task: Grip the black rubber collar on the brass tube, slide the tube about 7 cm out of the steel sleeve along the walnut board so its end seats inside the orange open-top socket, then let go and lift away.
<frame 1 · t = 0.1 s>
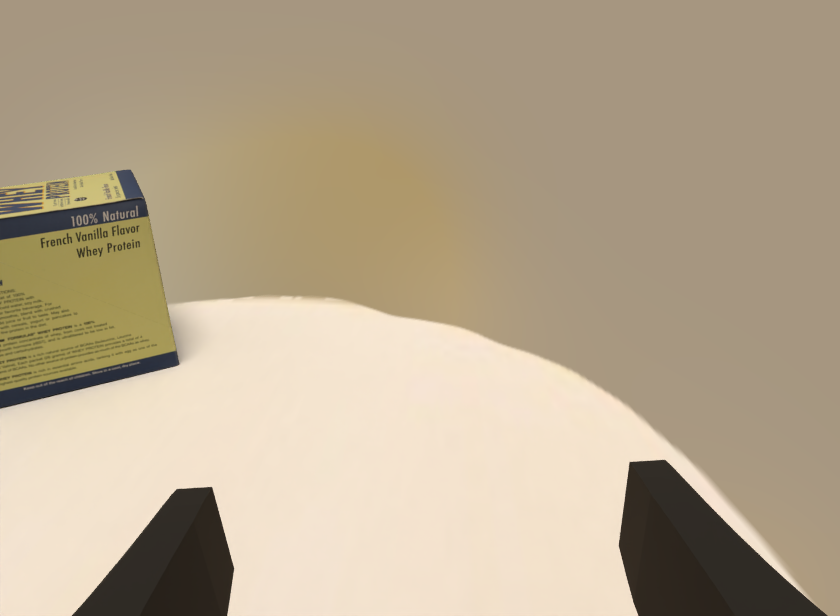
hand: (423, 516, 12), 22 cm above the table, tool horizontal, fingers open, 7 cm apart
protein box: (86, 363, 63), on the table
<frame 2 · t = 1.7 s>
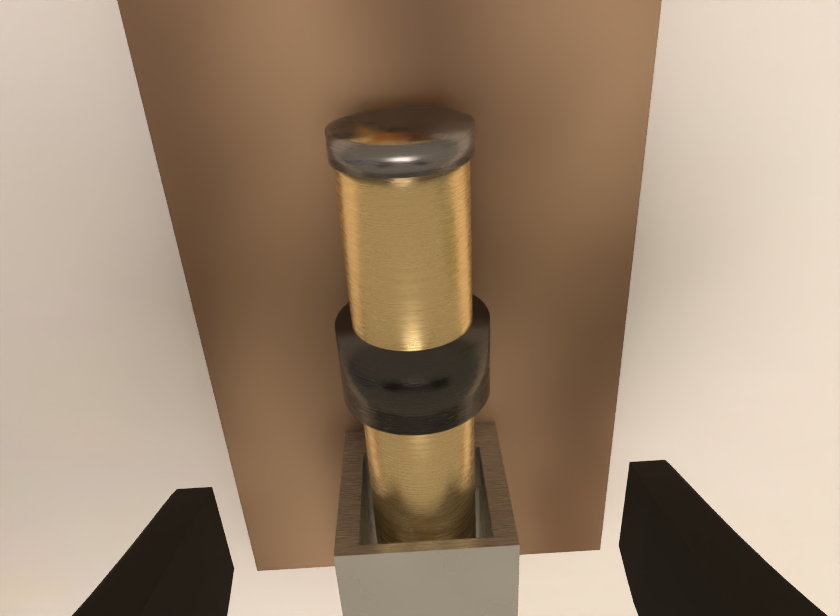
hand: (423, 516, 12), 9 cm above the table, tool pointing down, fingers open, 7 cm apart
base board: (404, 180, 18), on the table
outer sleeve: (424, 497, 23), resting on base board
inner tube: (419, 434, 18), point 4 cm above the table, slide at 0.0 cm
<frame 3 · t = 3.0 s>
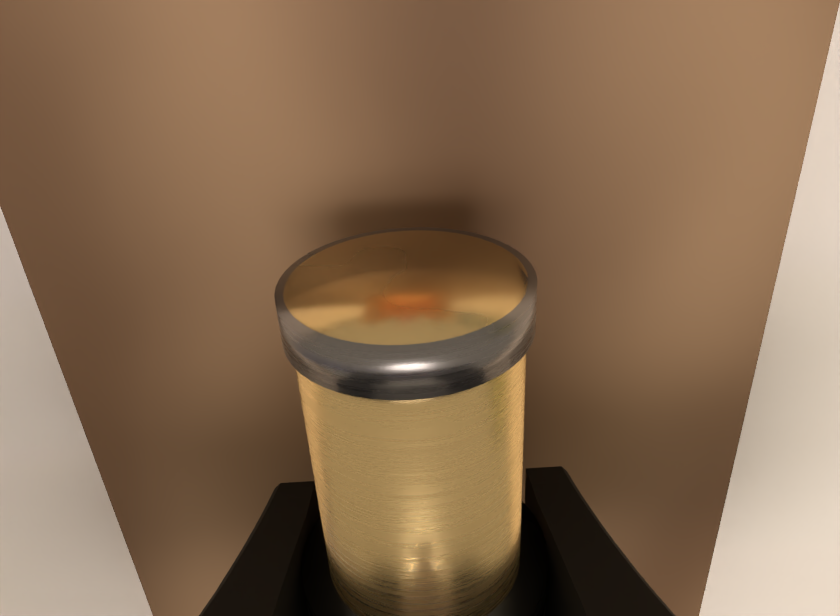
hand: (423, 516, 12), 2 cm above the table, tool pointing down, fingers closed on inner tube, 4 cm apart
base board: (411, 305, 13), on the table
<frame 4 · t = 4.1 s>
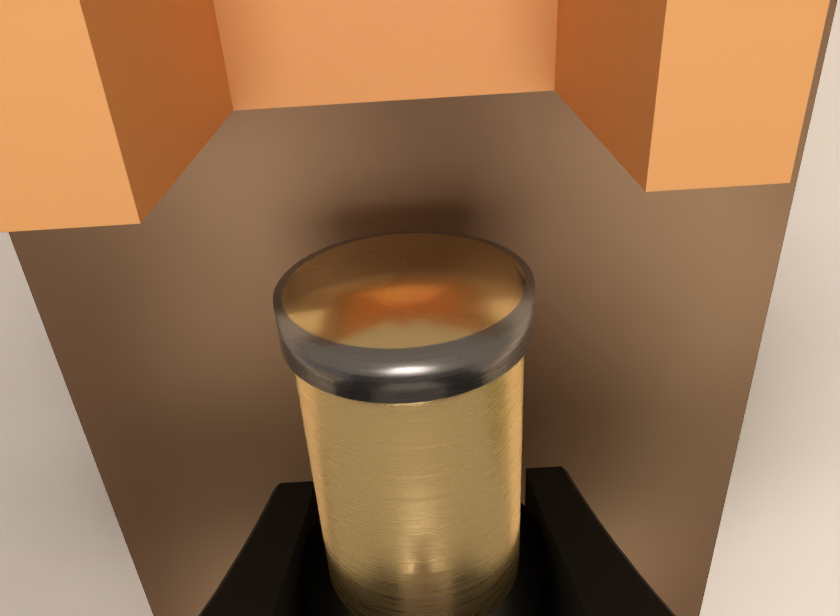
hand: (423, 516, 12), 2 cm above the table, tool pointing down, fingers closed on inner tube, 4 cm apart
base board: (419, 432, 14), on the table
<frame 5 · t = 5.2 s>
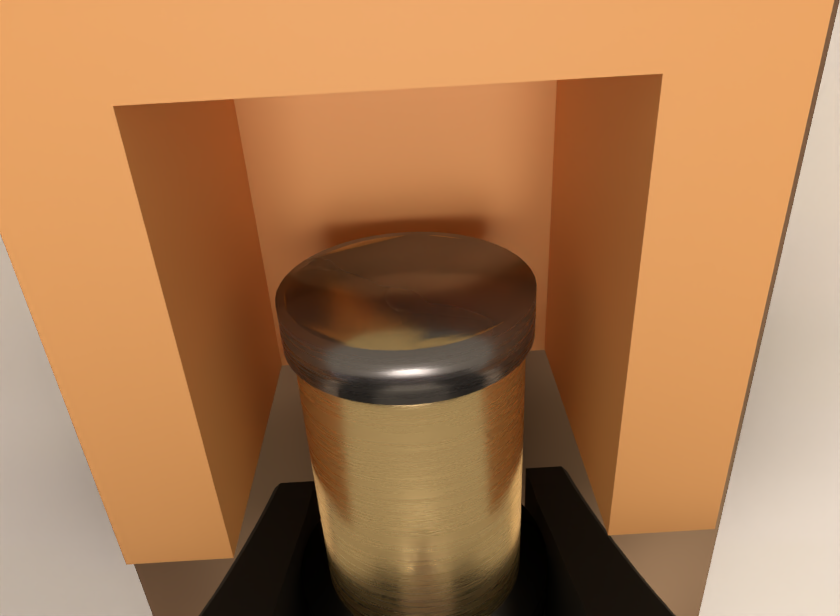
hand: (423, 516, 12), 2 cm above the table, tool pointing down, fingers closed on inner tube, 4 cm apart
base board: (428, 568, 16), on the table
socket block: (400, 141, 11), resting on base board
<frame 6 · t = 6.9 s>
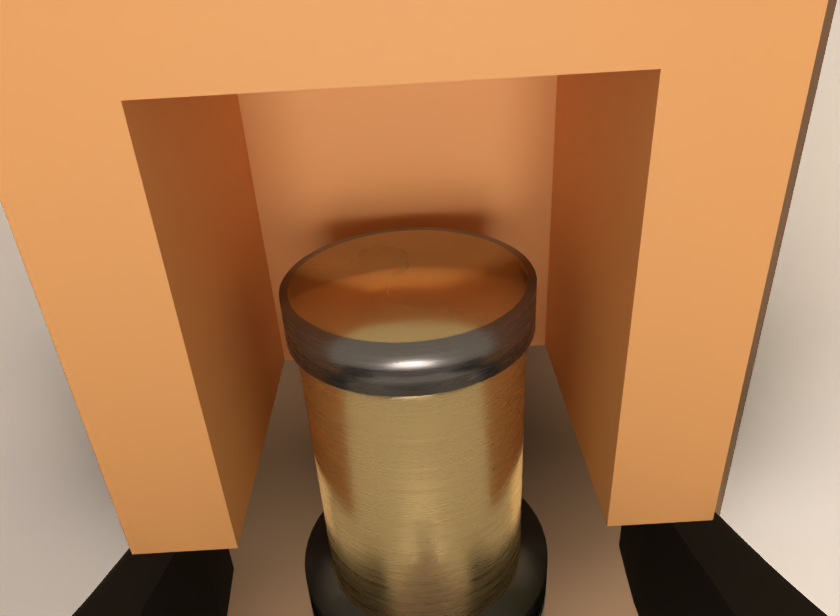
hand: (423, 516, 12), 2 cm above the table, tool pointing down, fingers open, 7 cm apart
base board: (429, 563, 16), on the table
socket block: (402, 138, 11), resting on base board
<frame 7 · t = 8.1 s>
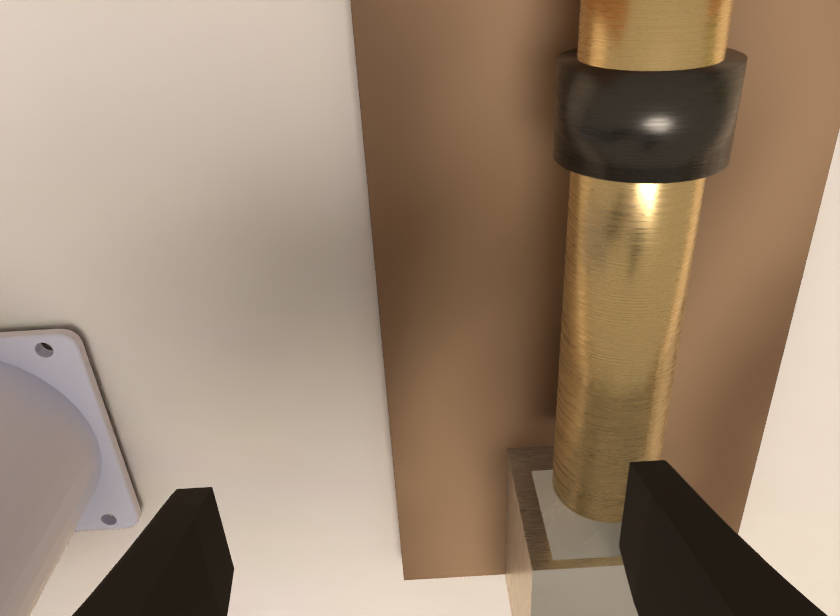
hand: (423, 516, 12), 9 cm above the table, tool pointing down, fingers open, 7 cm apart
base board: (586, 215, 20), on the table
outer sleeve: (572, 511, 24), resting on base board
inner tube: (631, 220, 16), point 4 cm above the table, slide at 6.9 cm
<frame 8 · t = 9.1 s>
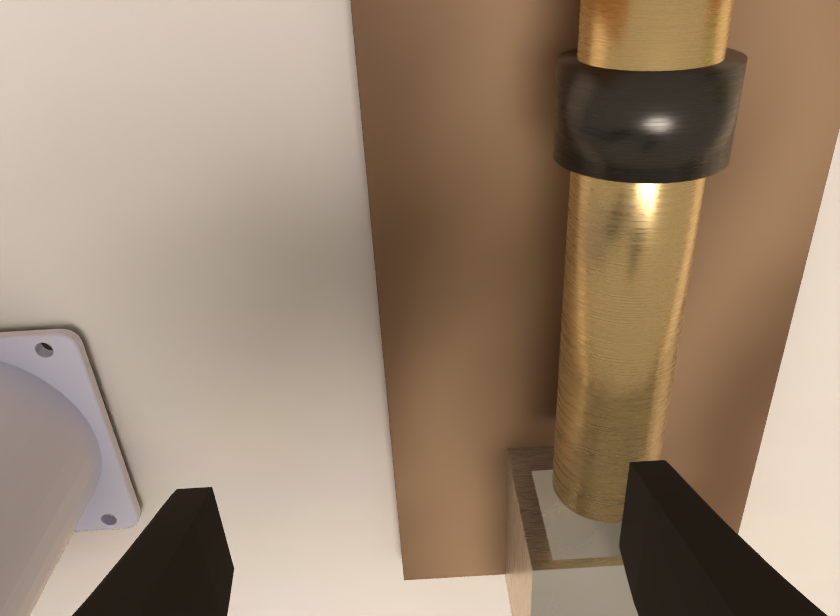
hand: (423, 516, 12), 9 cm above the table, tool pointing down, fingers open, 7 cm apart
base board: (586, 215, 20), on the table
outer sleeve: (572, 511, 24), resting on base board
inner tube: (631, 220, 16), point 4 cm above the table, slide at 6.9 cm
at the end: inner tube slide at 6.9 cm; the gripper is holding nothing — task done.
